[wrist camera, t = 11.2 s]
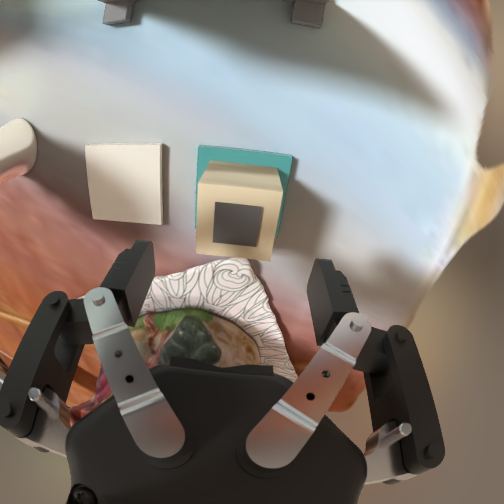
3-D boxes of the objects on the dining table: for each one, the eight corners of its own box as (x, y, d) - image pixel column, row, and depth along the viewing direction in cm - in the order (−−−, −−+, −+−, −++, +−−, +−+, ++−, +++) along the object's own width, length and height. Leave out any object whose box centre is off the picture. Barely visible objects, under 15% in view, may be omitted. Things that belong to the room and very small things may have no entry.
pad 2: (199, 145, 20) (198, 146, 19) (291, 155, 20) (292, 157, 20) (196, 224, 24) (194, 228, 23) (277, 233, 24) (277, 236, 23)
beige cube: (210, 160, 20) (197, 183, 16) (277, 167, 20) (283, 193, 16) (206, 220, 23) (195, 256, 18) (267, 227, 23) (269, 264, 19)
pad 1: (88, 144, 19) (84, 146, 19) (162, 143, 19) (159, 145, 19) (95, 216, 23) (93, 219, 22) (163, 221, 23) (161, 224, 23)
